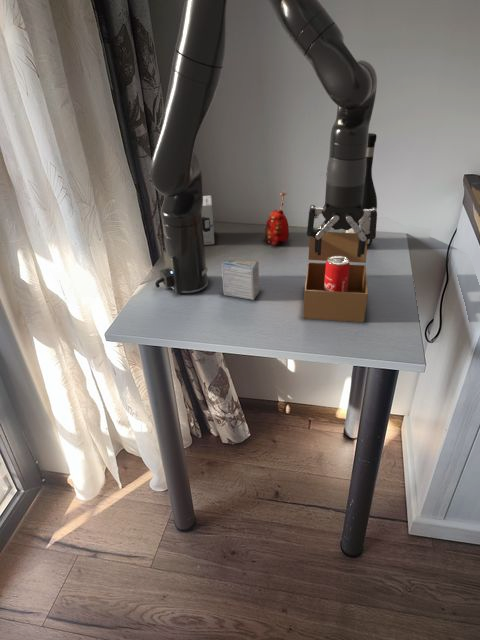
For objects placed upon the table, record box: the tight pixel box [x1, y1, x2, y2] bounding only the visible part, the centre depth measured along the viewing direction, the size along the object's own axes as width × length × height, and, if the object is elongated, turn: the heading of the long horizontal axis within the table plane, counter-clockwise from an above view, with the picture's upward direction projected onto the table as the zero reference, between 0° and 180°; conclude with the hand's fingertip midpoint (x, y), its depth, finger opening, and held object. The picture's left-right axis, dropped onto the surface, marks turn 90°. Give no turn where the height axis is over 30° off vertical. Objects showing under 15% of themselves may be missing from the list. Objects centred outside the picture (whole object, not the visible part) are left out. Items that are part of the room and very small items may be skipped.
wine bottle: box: [344, 132, 378, 248], centre depth 131 cm, size 8×8×30 cm
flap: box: [307, 231, 368, 264], centre depth 113 cm, size 7×14×1 cm
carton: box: [302, 261, 369, 323], centre depth 111 cm, size 14×14×7 cm
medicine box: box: [221, 256, 260, 301], centre depth 115 cm, size 8×4×9 cm, turn 71°
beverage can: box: [324, 255, 351, 292], centre depth 109 cm, size 5×5×12 cm
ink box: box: [201, 195, 216, 246], centre depth 140 cm, size 9×5×12 cm, turn 6°
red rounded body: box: [264, 189, 290, 247], centre depth 138 cm, size 8×7×15 cm
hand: (339, 254), depth 104 cm, fingers open, 8 cm apart
